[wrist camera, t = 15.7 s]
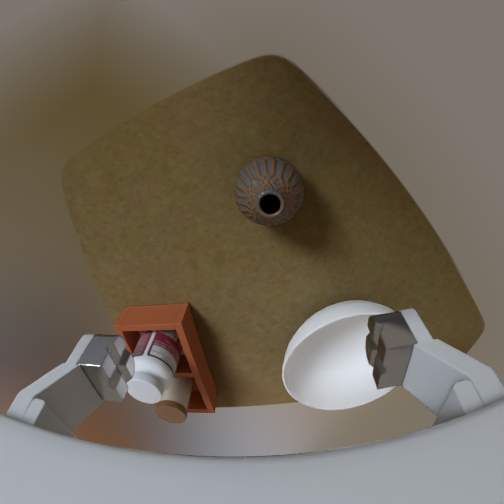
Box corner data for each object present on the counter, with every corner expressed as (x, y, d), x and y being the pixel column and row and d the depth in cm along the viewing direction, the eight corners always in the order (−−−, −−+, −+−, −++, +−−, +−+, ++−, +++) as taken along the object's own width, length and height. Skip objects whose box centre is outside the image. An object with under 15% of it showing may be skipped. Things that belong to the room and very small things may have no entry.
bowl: (400, 357, 45) (414, 389, 38) (295, 386, 47) (298, 420, 41) (397, 263, 37) (419, 293, 31) (264, 300, 40) (264, 336, 34)
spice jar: (162, 374, 47) (150, 412, 39) (177, 362, 45) (165, 402, 38) (184, 388, 48) (175, 426, 40) (200, 377, 46) (192, 417, 39)
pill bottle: (150, 350, 44) (128, 404, 34) (139, 318, 42) (111, 373, 32) (188, 351, 44) (172, 409, 34) (179, 319, 41) (159, 377, 31)
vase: (230, 160, 33) (219, 175, 25) (291, 145, 32) (301, 155, 24) (246, 218, 36) (241, 250, 28) (305, 204, 35) (317, 232, 27)
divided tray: (164, 391, 50) (158, 411, 45) (124, 306, 42) (113, 325, 38) (217, 392, 49) (214, 412, 45) (188, 302, 41) (181, 323, 37)
